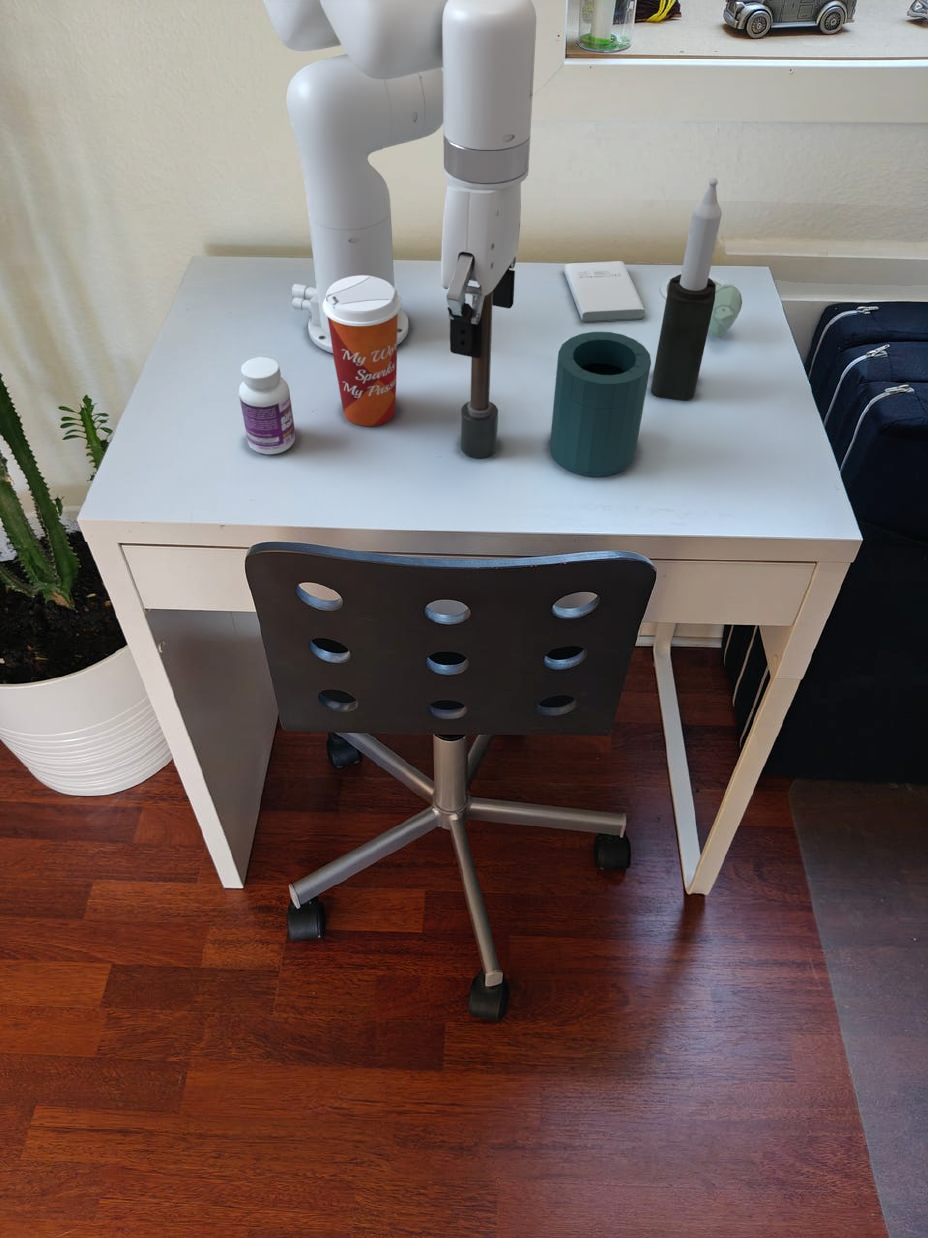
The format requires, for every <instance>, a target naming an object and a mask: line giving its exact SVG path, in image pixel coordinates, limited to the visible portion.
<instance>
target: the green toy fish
mask: <svg viewBox="0 0 928 1238" xmlns="http://www.w3.org/2000/svg"><path fill="white" fill-rule="evenodd" d="M715 285H716V292H715V302H714V306H713V311H712V316H711V320H710V325H709V329H708V332H710V334H711V335H712V336H713V337H721V336H723V335H724V334H726V333H727V332H728V331H729V330H730V329H731V327H732V326H733V325H734V323H735V322H736V320H737V318H738V317H739V314H740V312H741V309H742V305H743V299H742V297H743V296H742V294H741V292H740V290H739V288H737V287H736V286H735V285H733V284H726V283H725V284H721V283H718V284H717V283H715Z"/></svg>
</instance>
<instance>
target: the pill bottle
mask: <svg viewBox="0 0 928 1238" xmlns="http://www.w3.org/2000/svg"><path fill="white" fill-rule="evenodd" d="M240 372H241V379H242V381H241V383H240V385H239V389H238V398H239V402H240V407H241V413H242V416H243V424H244V428H245V434H246V439H247V443H248V446H249V447H250V448H251V449H252V450H253V451H254V452H256V453H258V454H262V455H276V454H280V453H284V452H286V451H287V450H289V449H290V448H291V447H292V446H293V444H294V442H295V441H296V429H295V422H294V421H295V420H294V414H293V408H292V401H291V393H290V392H291V391H290V387H289V384H288V382H287V381H286V380H285V378H283V377H282V376H281V375H282V374H281V369H280V365H279V363H278V361H277V360H275V359H273V358H271V357H267V356H266V357H265V356H258V357H253V358H250V359H248V360H246V361H245V362H244V363H242V365H241V367H240Z"/></svg>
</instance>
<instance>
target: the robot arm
mask: <svg viewBox="0 0 928 1238" xmlns="http://www.w3.org/2000/svg"><path fill="white" fill-rule="evenodd" d="M262 2H263V5H264V7H265V10H266V13H267V16H268V18H269V21H270V23H271V25H272V29H273V30H274V32H275V34H276V36H277V38H278V39H279V41H280V42H281V43H282V45H284V47H286V48H287V49H290V50H292V51H295V52H311V51H318V50H325V49H329V48H334V47H335V48H336V47H340V46H341V47H342V49H343V50H344V52H345V54H340V55H336V56H332V57H327V58H324V59H321V60H317V61H314V62H312V63H309V64H308V65H306V66H304V67H302V68H301V69H300V70H298V71H297V72H296V73H295V74H294V75H293V77H292V78H291V79H290V81H289V83H288V86H287V90H286V110H287V115H288V118H289V123H290V126H291V130H292V133H293V138H294V140H295V144H296V148H297V152H298V155H299V160H300V166H301V172H302V175H303V176H302V177H303V183H304V190H305V199H306V206H307V207H306V208H307V215H308V224H309V233H310V242H311V250H312V258H313V259H312V260H313V268H314V269H313V270H314V276H315V279H314V280H315V286H316V287H311V286H309V285H305V284H299V283H294V284H293V285H292V287H291V298H292V303H291V306H292V308H293V309H295V310H299V311H306V312H308V313H309V314H311V315H310V317H309V319H308V324H307V327H308V334H309V338H310V339H311V341H312V342H313V343H314V344H315V345H316V346H317V347H319V348H320V349H322V350H324V351H325V352H328V353H330V354H333V349H332V342H331V335H330V329H329V323H328V317H327V315H326V314H325V312H324V310H323V302H324V300H325V298H326V293H327V291H328V289H329V287H330V286H331V285H332V284H333V283H335V282H337V281H338V280H341V279H343V278H347V277H351V276H360V275H365V276H373V277H377V278H380V279H383V280H385V281H387V282H388V283H390V284H391V285H392V286H393V287H394V288H395V271H394V270H395V268H394V249H393V247H394V246H393V228H392V227H393V226H392V224H393V223H392V207H391V195H390V190H389V187H388V184H387V182H386V180H385V179H384V177H383V176H382V174H381V173H380V172H378V170H377V169H376V168H375V167H374V166H373V165H372V164H371V163H370V161H369V156H370V154H373V153H374V152H378V151H381V150H383V149H386V148H390V147H395V146H398V145H402V144H406V143H409V142H414V141H418V140H421V139H423V138H427V137H429V136H431V135H434V134H435V133H436V132H437V131H439V130H440V128H442V130H443V174H444V176H445V178H446V179H447V180H448V182H447V185H446V191H445V199H444V205H443V207H444V208H443V218H442V219H443V220H442V230H441V231H442V233H441V260H440V284H441V287H442V288H443V289H444V290H447V292H446V301H447V302H446V303H447V305H448V306H447V311H448V320H449V350H450V352H451V353H452V354H455V355H459V356H464V357H468V358H471V357H474V358H480V357H481V356H482V354H483V326H484V319H480V315H481V311H482V306H483V302H484V297H485V295H488V294H489V293H490V292H492V291H493V307H499V308H504V309H511V308H512V307H513V306H514V301H515V299H514V298H515V282H516V281H515V280H516V279H515V278H516V270H514V269H515V266H516V263H517V257H516V255H517V252H518V249H519V244H520V243H519V242H520V234H521V214H522V213H521V211H522V182H524V181H525V180H526V179H527V178H528V176H529V170H530V167H529V166H530V150H531V132H532V131H531V129H532V116H533V115H532V113H533V96H534V95H533V94H534V77H535V59H536V57H535V56H536V39H537V38H536V37H537V36H536V35H537V12H536V11H537V10H536V7H535V5H534V3H533V2H532V0H262ZM470 281H471V282H477V285H478V287H479V288H478V287H477V286H472V285H469V283H470ZM466 295H469V296H472V295H475V296H476V297H475V302H474V306H473V309H472V305H470V304H469V303H467V302H466V300H467V299H466ZM408 333H409V318H408V315H407V313H406V312H405V311H404V309H402V308H401V307H400V310H399V312H398V322H397V346H398V345H399V344H401V343H402V342H403V341H404V340H405V339H406V337H407V335H408Z"/></svg>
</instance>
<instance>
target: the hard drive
mask: <svg viewBox="0 0 928 1238" xmlns="http://www.w3.org/2000/svg"><path fill="white" fill-rule="evenodd" d="M564 275H565V278H566V281H567V283H568V286H569V289H570V292H571V294H572V297H573V300H574V304H575V305H576V308H577V312H578V314H579V317H580V320H581V322H583V323H600V322H601V323H602V322H617V321H618V322H619V321H636V320H642V319H644V318H645V313H646V310H645V307H644V305H643V302H642V301H641V298H640V296H639V294H638V291H637V289H636V287H635V285H634V283H633V280H632V277H631V275H630V273H629V271H628V268H627V267H626V264H625V262H624V261H623V260H616V261H615V260H613V261H594V262H593V261H592V262H591V261H590V262H574V263H573V262H572V263H567V264H565V265H564Z"/></svg>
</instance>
